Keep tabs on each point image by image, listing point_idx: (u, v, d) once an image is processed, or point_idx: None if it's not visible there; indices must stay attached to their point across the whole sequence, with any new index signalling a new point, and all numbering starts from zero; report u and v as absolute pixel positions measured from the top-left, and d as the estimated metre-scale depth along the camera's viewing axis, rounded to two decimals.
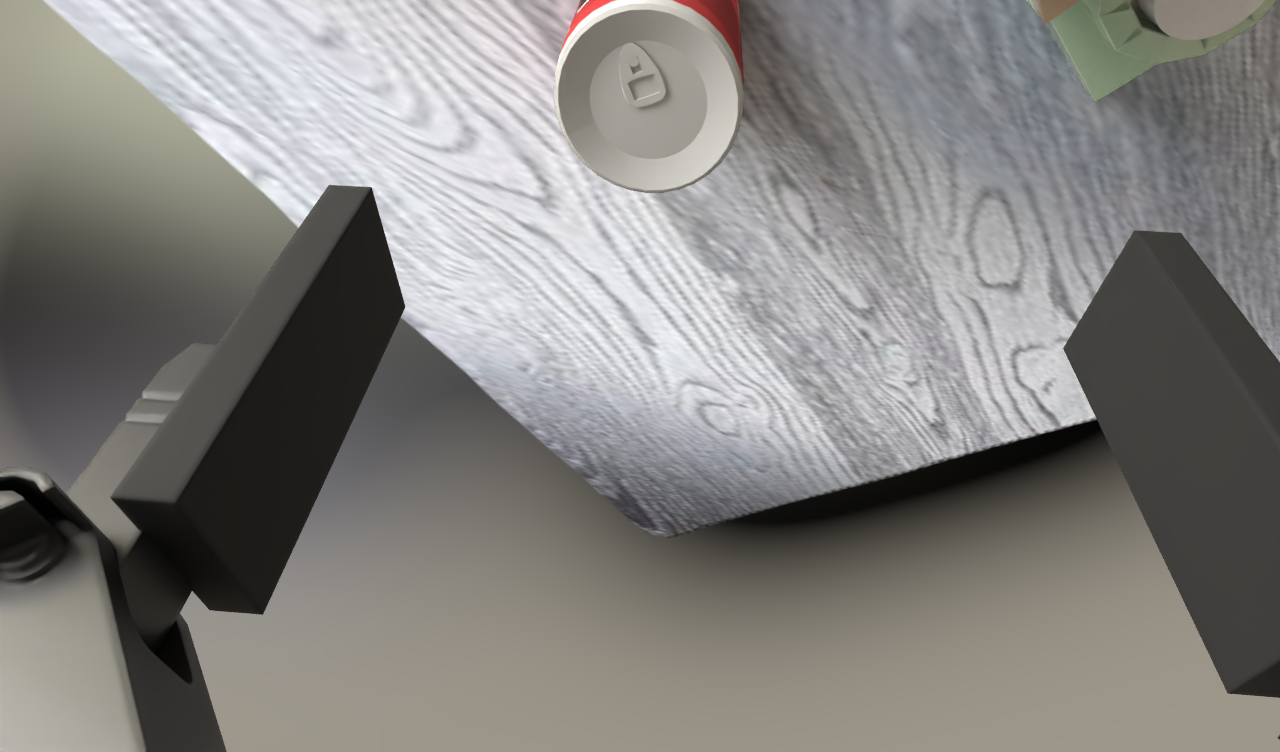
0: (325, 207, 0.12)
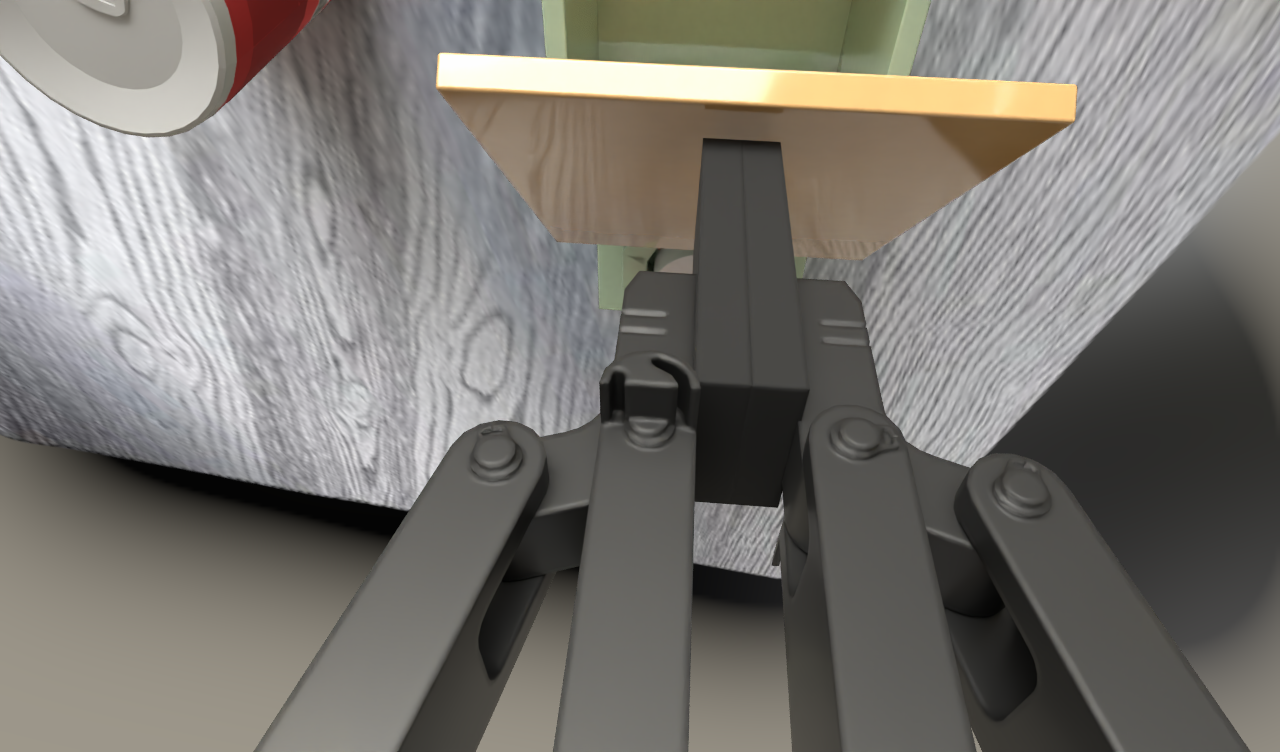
0: (713, 156, 0.13)
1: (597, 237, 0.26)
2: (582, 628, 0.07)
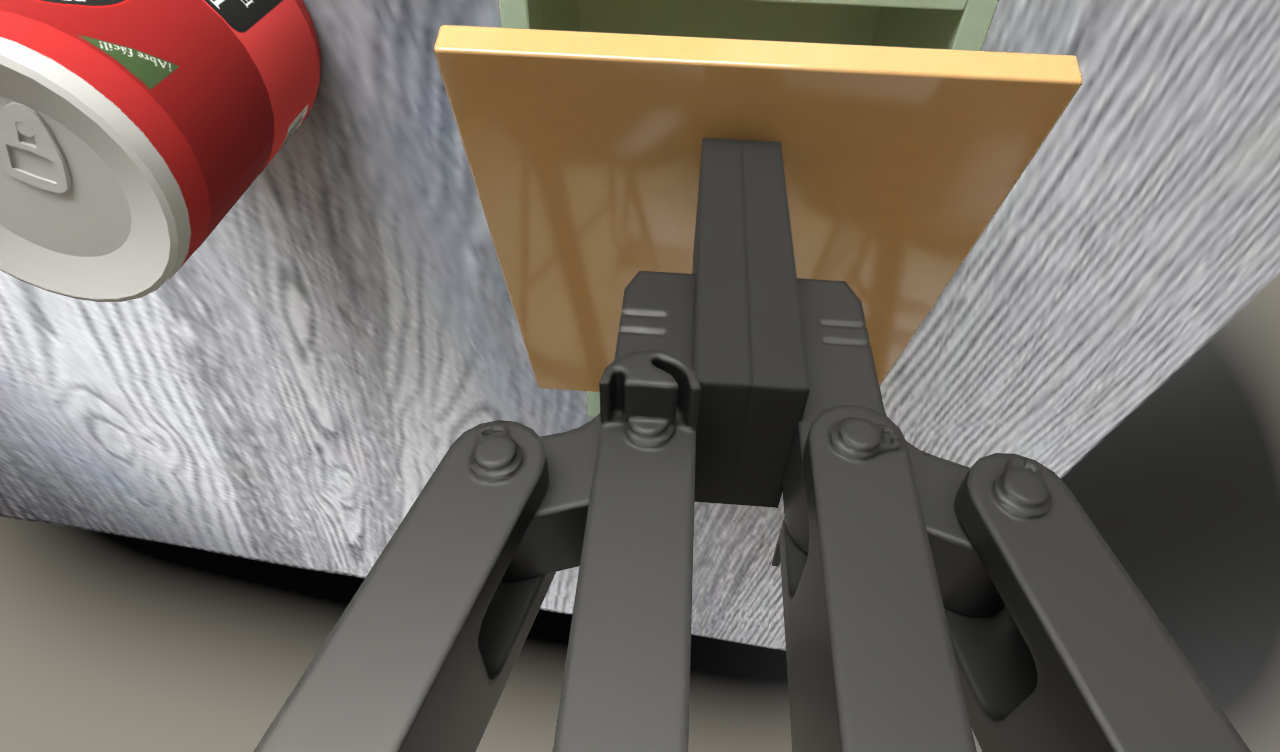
0: (713, 156, 0.13)
1: (582, 374, 0.24)
2: (582, 628, 0.07)
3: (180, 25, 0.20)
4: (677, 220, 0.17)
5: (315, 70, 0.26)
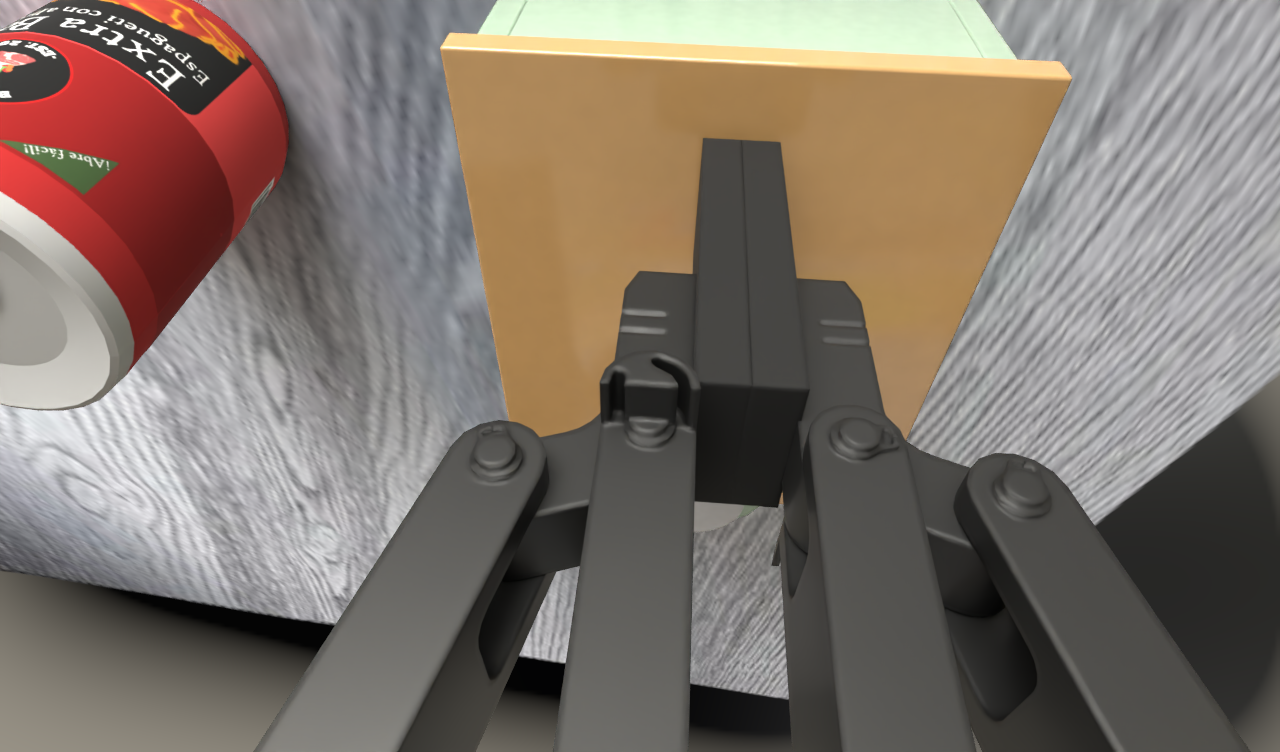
0: (713, 156, 0.13)
1: None
2: (582, 628, 0.07)
3: (122, 115, 0.18)
4: (675, 253, 0.16)
5: (281, 142, 0.24)
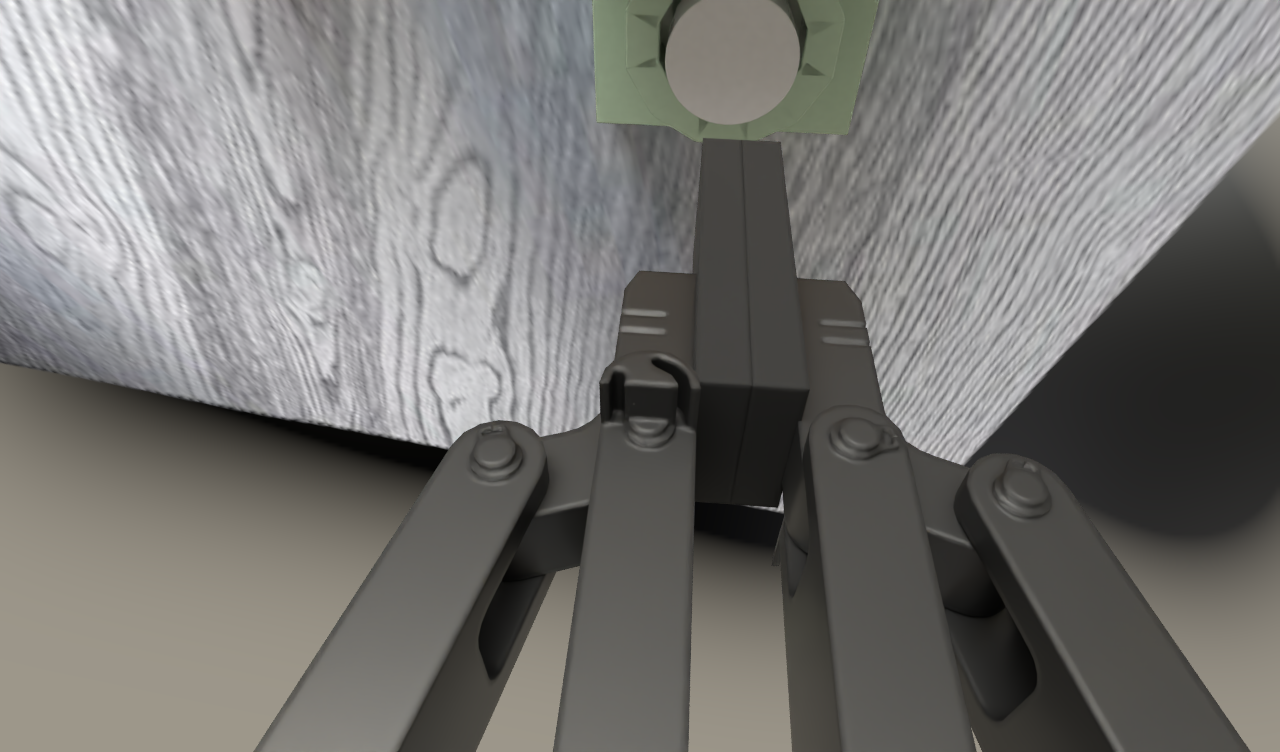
0: (713, 156, 0.13)
1: None
2: (582, 628, 0.07)
3: None
4: None
5: None
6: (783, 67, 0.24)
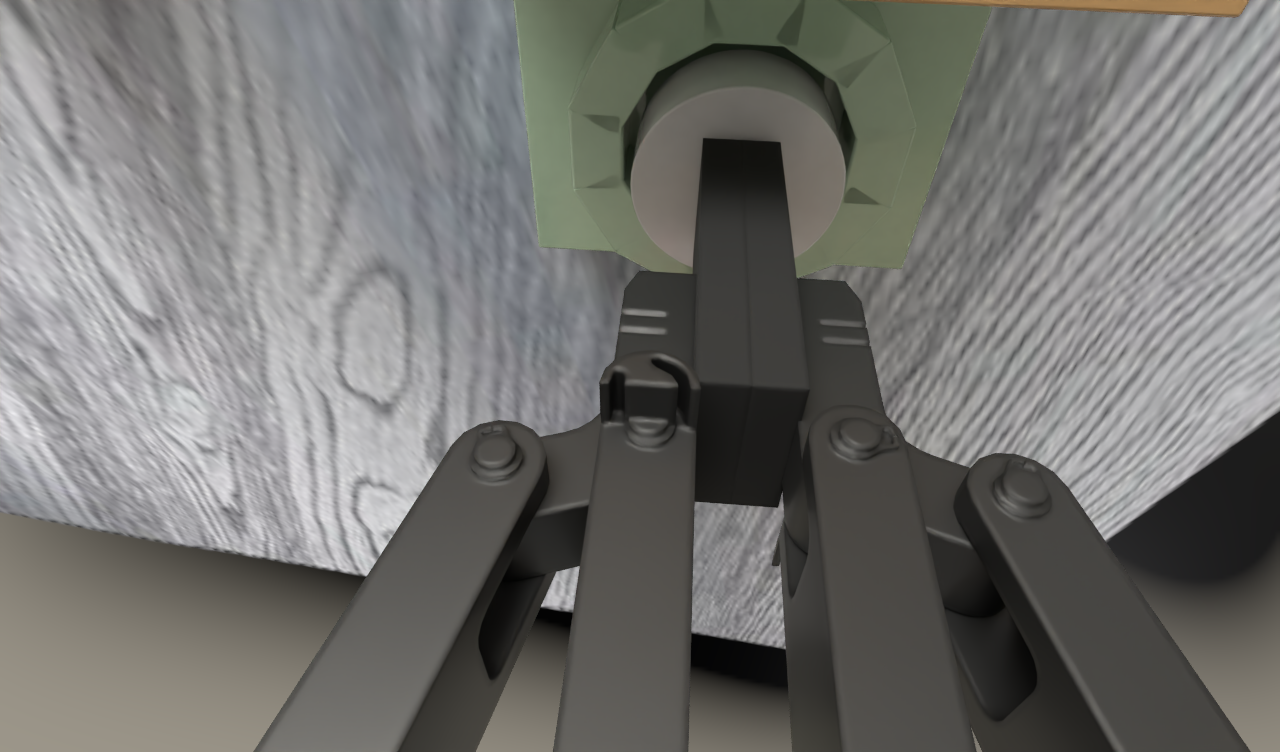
0: (713, 156, 0.13)
1: None
2: (582, 628, 0.07)
3: None
4: None
5: None
6: (818, 199, 0.15)
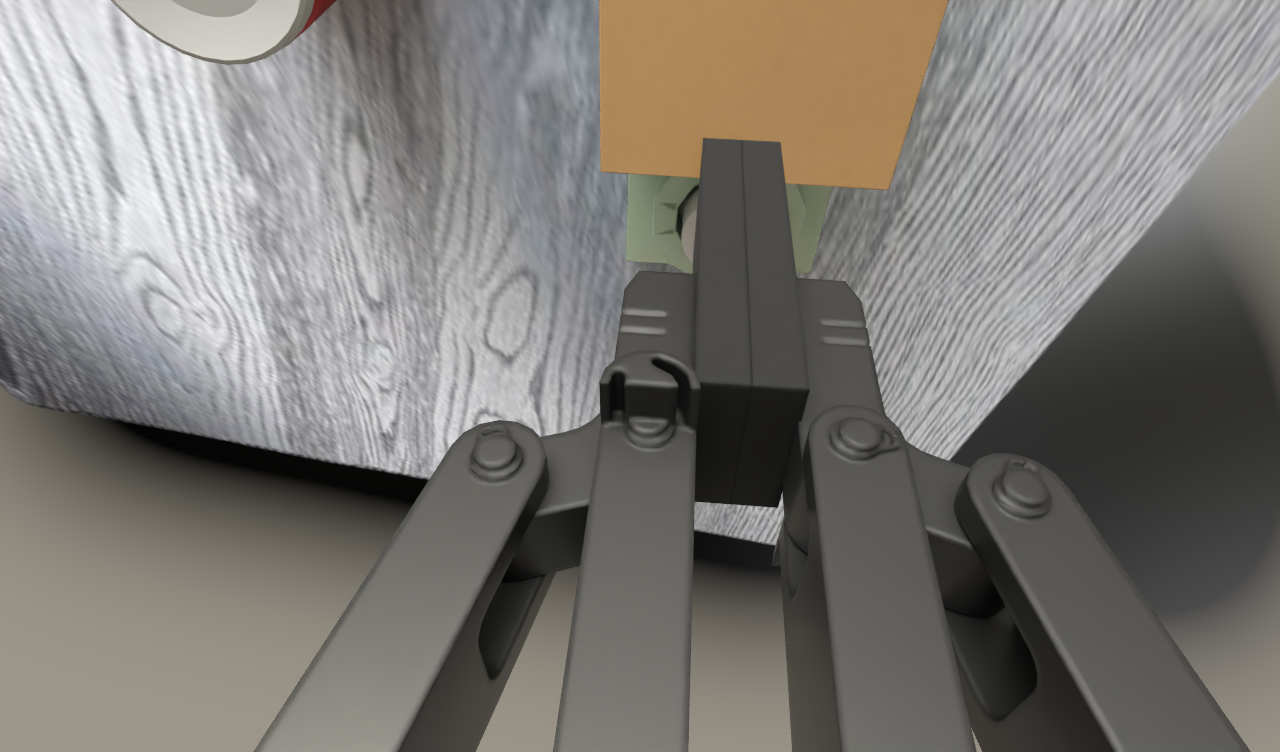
0: (713, 156, 0.13)
1: (644, 143, 0.28)
2: (582, 628, 0.07)
3: None
4: None
5: None
6: None
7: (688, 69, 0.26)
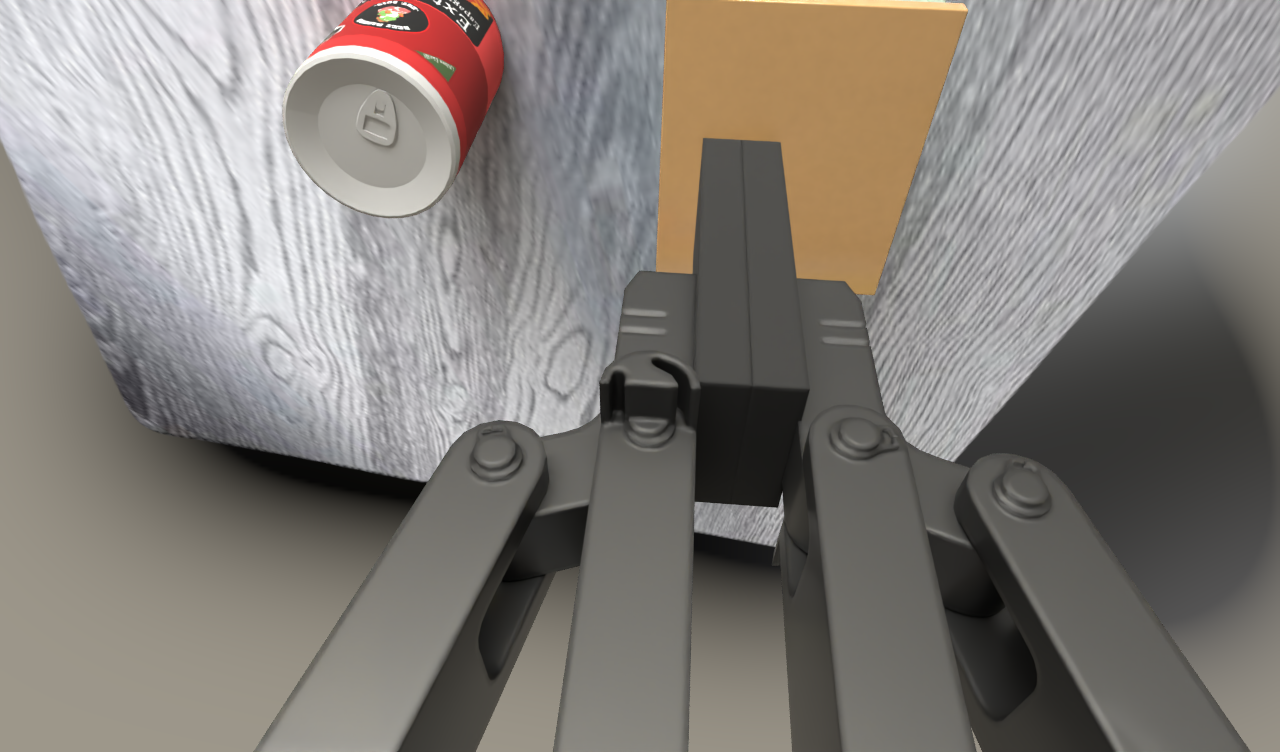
0: (713, 156, 0.13)
1: (689, 263, 0.37)
2: (582, 628, 0.07)
3: (452, 43, 0.33)
4: (769, 110, 0.31)
5: (502, 71, 0.39)
6: None
7: None
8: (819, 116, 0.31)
